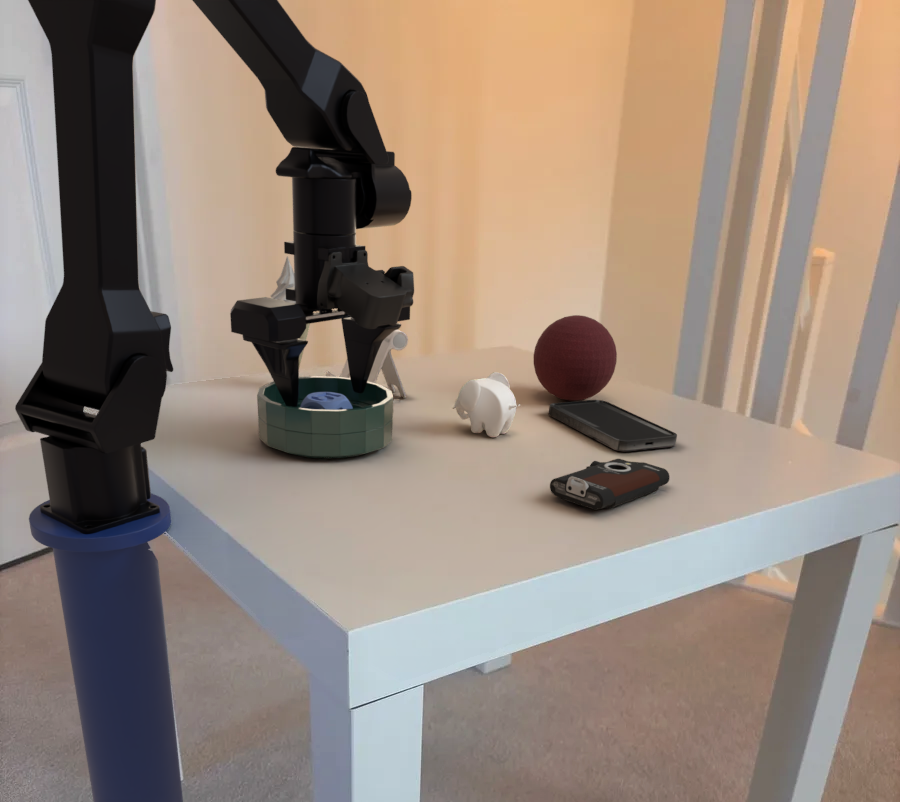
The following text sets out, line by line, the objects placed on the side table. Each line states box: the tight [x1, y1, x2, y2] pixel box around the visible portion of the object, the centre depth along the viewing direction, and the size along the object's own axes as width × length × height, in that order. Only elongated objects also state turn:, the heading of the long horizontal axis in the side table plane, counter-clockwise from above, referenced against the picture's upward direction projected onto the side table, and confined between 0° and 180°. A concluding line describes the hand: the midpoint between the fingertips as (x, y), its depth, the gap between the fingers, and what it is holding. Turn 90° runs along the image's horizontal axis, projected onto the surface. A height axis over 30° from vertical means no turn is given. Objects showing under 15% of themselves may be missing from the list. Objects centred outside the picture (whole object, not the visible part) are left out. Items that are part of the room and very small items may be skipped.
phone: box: [548, 399, 678, 453], centre depth 101 cm, size 8×1×15 cm
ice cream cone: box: [270, 256, 311, 368], centre depth 107 cm, size 5×5×15 cm
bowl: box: [256, 375, 394, 459], centre depth 91 cm, size 13×13×5 cm
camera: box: [549, 458, 671, 511], centre depth 83 cm, size 6×3×11 cm
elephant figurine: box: [451, 371, 521, 438], centre depth 97 cm, size 7×8×6 cm
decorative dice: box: [300, 392, 353, 410], centre depth 91 cm, size 4×4×4 cm
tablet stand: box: [325, 329, 409, 399], centre depth 107 cm, size 9×8×8 cm
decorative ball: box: [533, 314, 618, 402], centre depth 110 cm, size 10×10×10 cm
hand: (326, 400), depth 90 cm, fingers open, 9 cm apart
